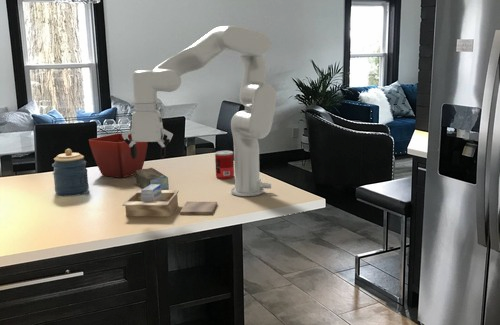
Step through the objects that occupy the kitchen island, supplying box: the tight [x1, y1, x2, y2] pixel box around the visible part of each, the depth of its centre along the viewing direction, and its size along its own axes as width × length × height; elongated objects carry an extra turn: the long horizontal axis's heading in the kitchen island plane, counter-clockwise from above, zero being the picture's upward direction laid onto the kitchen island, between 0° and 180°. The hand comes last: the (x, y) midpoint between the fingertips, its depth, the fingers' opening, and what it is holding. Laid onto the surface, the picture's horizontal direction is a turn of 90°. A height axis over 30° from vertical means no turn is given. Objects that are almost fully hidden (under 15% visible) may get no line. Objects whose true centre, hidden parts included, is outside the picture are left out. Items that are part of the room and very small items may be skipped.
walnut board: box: [179, 201, 218, 216], centre depth 189 cm, size 11×12×1 cm
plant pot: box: [88, 132, 149, 179], centre depth 243 cm, size 19×19×17 cm
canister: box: [51, 148, 90, 197], centre depth 213 cm, size 13×13×18 cm
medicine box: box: [140, 184, 162, 202], centre depth 187 cm, size 8×4×9 cm, turn 168°
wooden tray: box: [122, 189, 180, 217], centre depth 188 cm, size 15×18×5 cm
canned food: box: [214, 150, 235, 180], centre depth 233 cm, size 8×8×11 cm
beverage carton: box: [134, 167, 170, 190], centre depth 220 cm, size 8×19×7 cm, turn 29°
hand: (148, 158), depth 184 cm, fingers open, 9 cm apart
